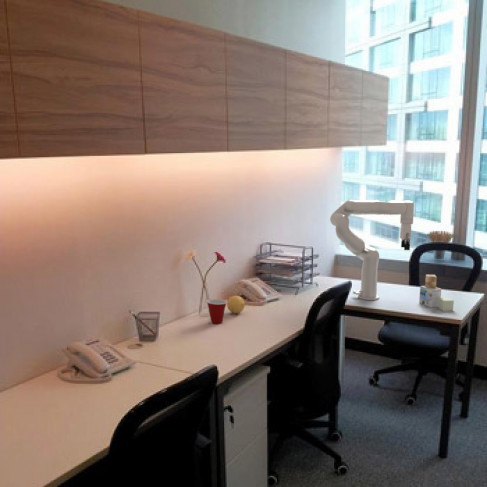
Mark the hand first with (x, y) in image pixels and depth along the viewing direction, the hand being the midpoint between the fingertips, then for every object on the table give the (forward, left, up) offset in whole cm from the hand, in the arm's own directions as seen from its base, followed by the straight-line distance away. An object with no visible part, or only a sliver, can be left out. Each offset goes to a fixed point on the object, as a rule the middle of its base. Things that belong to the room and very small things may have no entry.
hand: (405, 248), depth 320 cm
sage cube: (+19, -26, -30) cm, 44 cm away
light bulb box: (+12, -18, -31) cm, 37 cm away
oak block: (+12, -18, -20) cm, 29 cm away
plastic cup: (-108, -63, -31) cm, 129 cm away
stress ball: (-100, -46, -31) cm, 114 cm away
